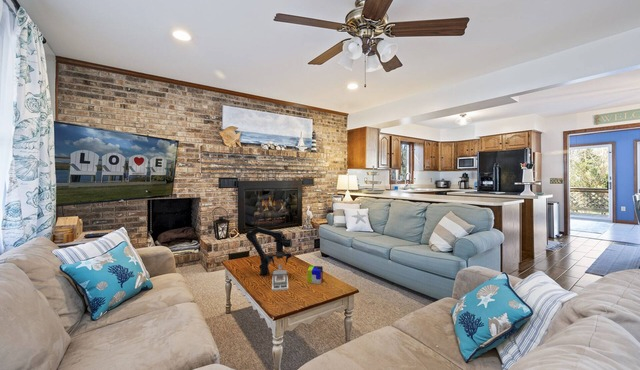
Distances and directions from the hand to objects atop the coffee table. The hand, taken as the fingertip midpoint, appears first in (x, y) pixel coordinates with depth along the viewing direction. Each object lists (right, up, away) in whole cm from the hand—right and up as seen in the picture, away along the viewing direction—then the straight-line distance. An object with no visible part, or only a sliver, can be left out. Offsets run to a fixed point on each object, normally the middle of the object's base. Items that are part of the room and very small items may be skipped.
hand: (280, 265), depth 221 cm
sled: (+1, -7, -6) cm, 9 cm away
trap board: (+2, -9, -16) cm, 18 cm away
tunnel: (+3, -8, -19) cm, 21 cm away
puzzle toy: (+29, -9, -11) cm, 33 cm away
